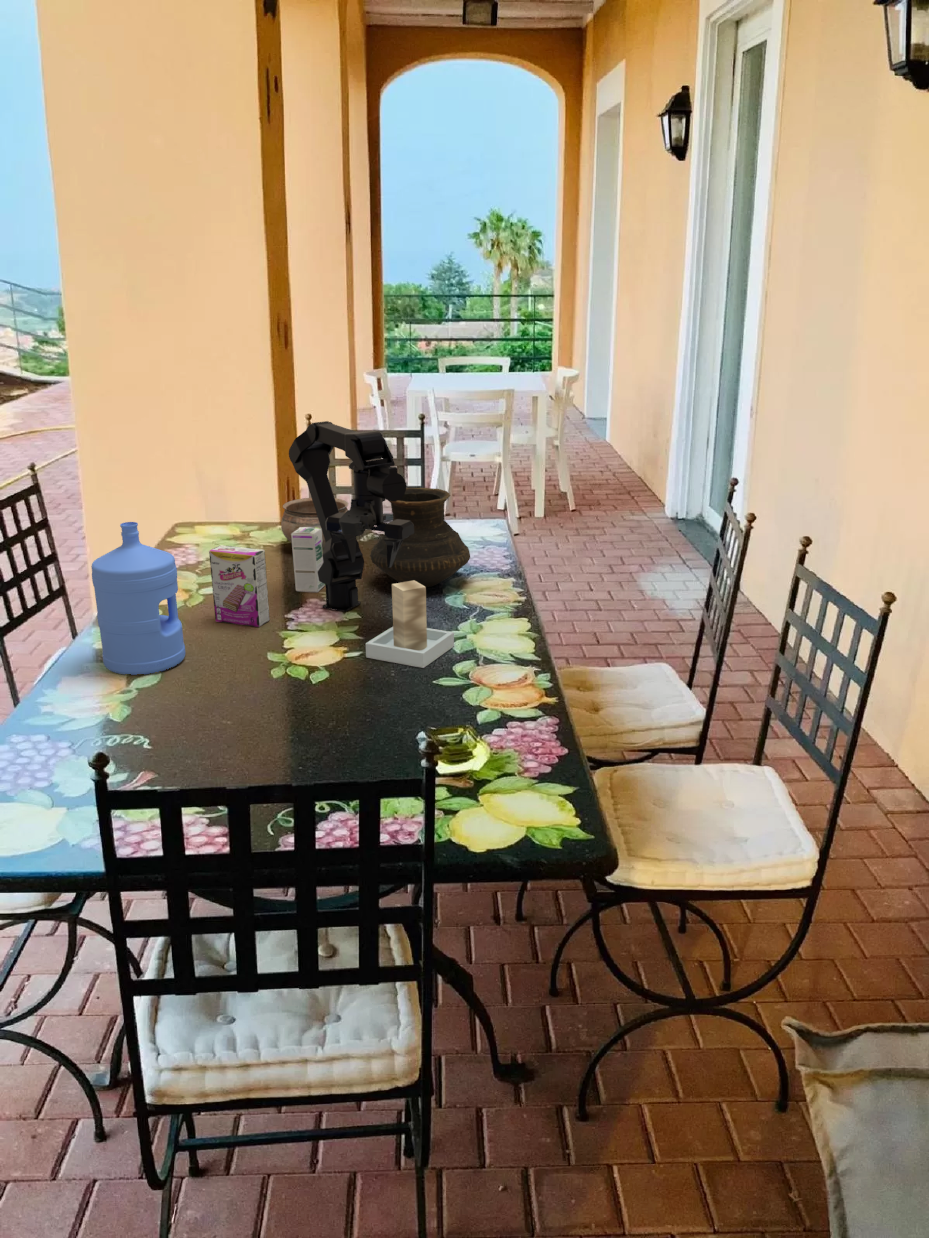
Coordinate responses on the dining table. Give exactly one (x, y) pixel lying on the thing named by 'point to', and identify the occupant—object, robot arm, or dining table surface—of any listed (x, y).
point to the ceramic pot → (423, 540)
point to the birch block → (409, 615)
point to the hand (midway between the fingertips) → (371, 564)
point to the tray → (387, 651)
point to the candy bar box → (239, 585)
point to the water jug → (137, 607)
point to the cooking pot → (304, 515)
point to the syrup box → (307, 558)
